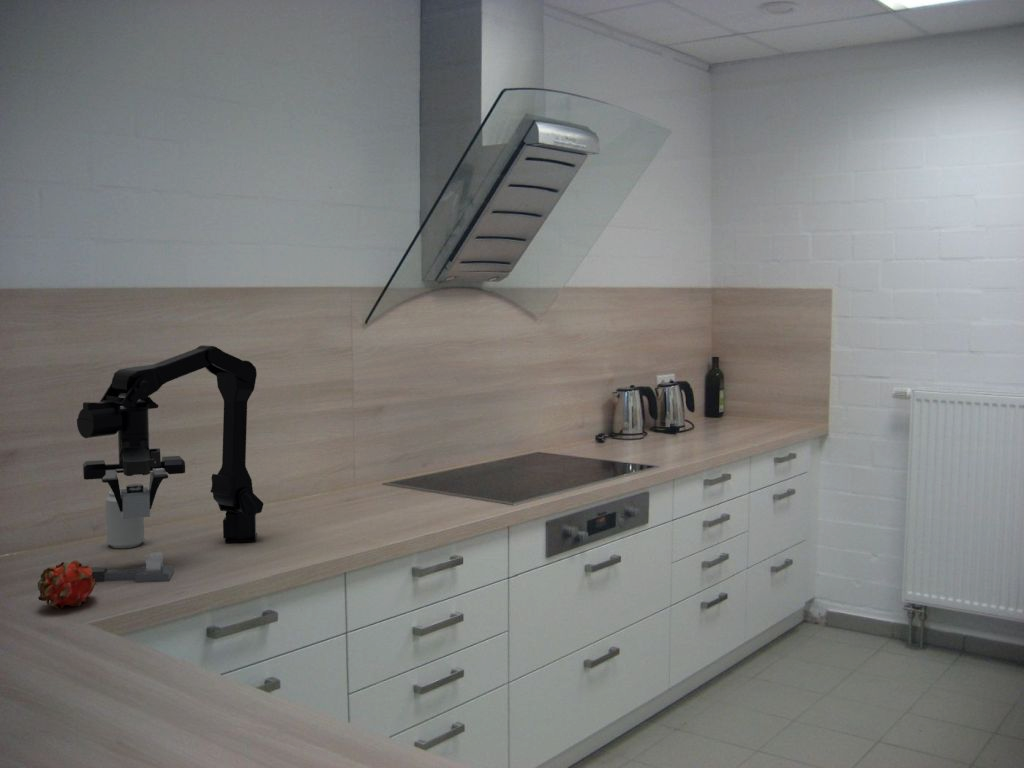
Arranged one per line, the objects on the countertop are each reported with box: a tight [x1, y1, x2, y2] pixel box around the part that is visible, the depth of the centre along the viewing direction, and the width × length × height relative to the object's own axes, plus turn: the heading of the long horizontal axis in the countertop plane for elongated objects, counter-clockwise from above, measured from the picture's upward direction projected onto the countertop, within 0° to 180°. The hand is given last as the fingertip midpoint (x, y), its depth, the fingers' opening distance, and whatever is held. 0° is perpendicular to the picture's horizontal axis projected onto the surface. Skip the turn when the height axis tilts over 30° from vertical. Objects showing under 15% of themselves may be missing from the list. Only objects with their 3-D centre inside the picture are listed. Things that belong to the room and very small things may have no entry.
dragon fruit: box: [37, 560, 98, 610], centre depth 176 cm, size 8×8×12 cm
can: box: [105, 487, 145, 549], centre depth 216 cm, size 8×8×12 cm
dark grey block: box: [120, 483, 151, 519], centre depth 200 cm, size 5×5×6 cm
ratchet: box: [90, 552, 175, 584], centre depth 191 cm, size 20×6×4 cm, turn 100°
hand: (135, 510), depth 200 cm, fingers closed on dark grey block, 5 cm apart
